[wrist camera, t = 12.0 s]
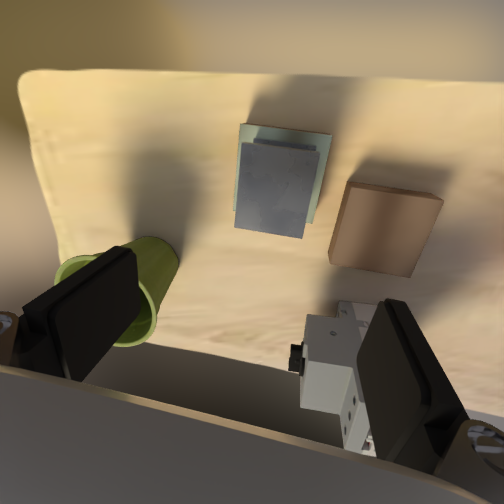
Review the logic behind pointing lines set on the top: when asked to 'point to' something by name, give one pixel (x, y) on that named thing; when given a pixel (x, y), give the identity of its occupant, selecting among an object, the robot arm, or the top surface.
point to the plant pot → (150, 283)
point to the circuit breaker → (336, 370)
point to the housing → (275, 186)
